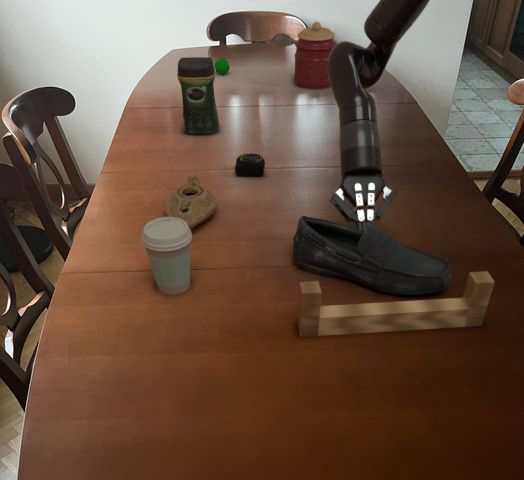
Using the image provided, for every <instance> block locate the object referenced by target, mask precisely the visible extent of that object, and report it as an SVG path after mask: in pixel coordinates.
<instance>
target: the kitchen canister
mask: <svg viewBox="0 0 524 480" xmlns="http://www.w3.org/2000/svg"><path fill="white" fill-rule="evenodd" d="M335 36H336V34H335V32H333V31H332V30H331V29H330V28H327V27H322V24H321V22H319V21H314V22H313V23H312V26H310V27H305V28H303V29H302V30H301V31H299V32H298V33H297V38H298V39H297V40H295V42H294V46H295V47H296V48H295V49H296V50H295V53H294V74H293V81H294V85H295V86H297V87H298V88H301V89H305V90H324V89H328V88H331V85H330V82H329V78H328V73H327V63H328V58H329V55H330V52H331V50H332V49H333V48H334V46H335V45H337V44H338V42H337V40H335V39H334V38H335Z"/></svg>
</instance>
